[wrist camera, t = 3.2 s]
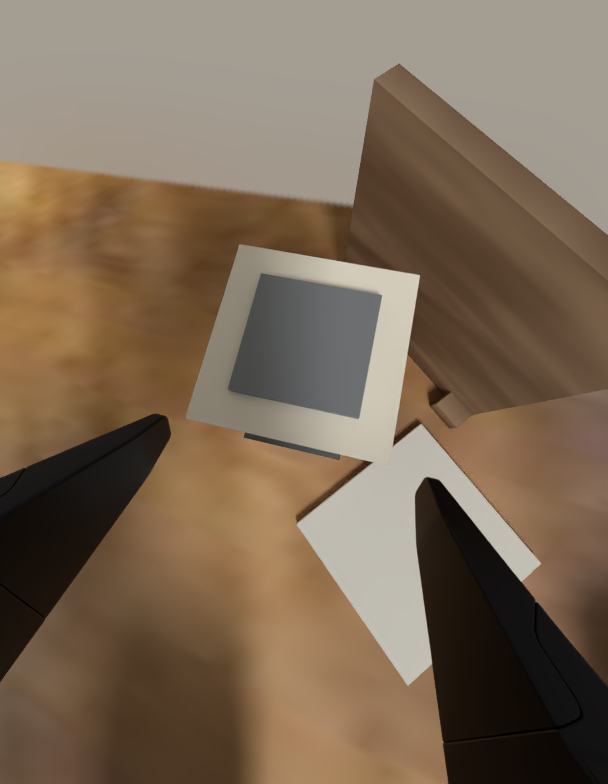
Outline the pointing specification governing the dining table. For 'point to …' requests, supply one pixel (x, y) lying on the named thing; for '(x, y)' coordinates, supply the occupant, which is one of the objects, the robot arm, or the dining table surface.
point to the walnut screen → (479, 257)
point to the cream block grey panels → (308, 354)
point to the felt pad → (398, 543)
